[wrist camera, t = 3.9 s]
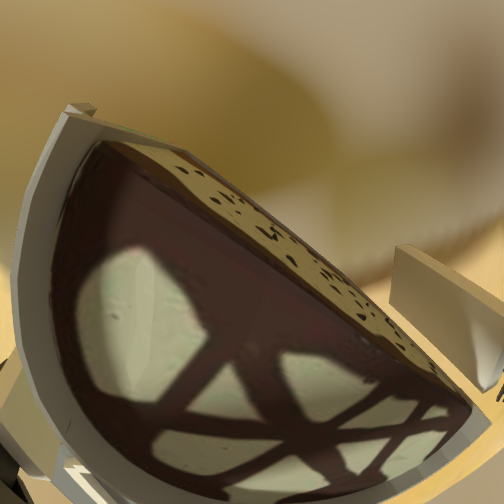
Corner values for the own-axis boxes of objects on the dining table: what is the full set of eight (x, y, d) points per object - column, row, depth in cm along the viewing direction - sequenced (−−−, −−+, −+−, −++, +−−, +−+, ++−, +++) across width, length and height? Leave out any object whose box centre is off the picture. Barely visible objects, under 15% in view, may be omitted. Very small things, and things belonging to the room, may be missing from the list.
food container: (73, 248, 12) (-58, 422, 3) (152, 125, 11) (25, 83, 2) (283, 373, 16) (352, 535, 7) (361, 288, 16) (495, 425, 6)
